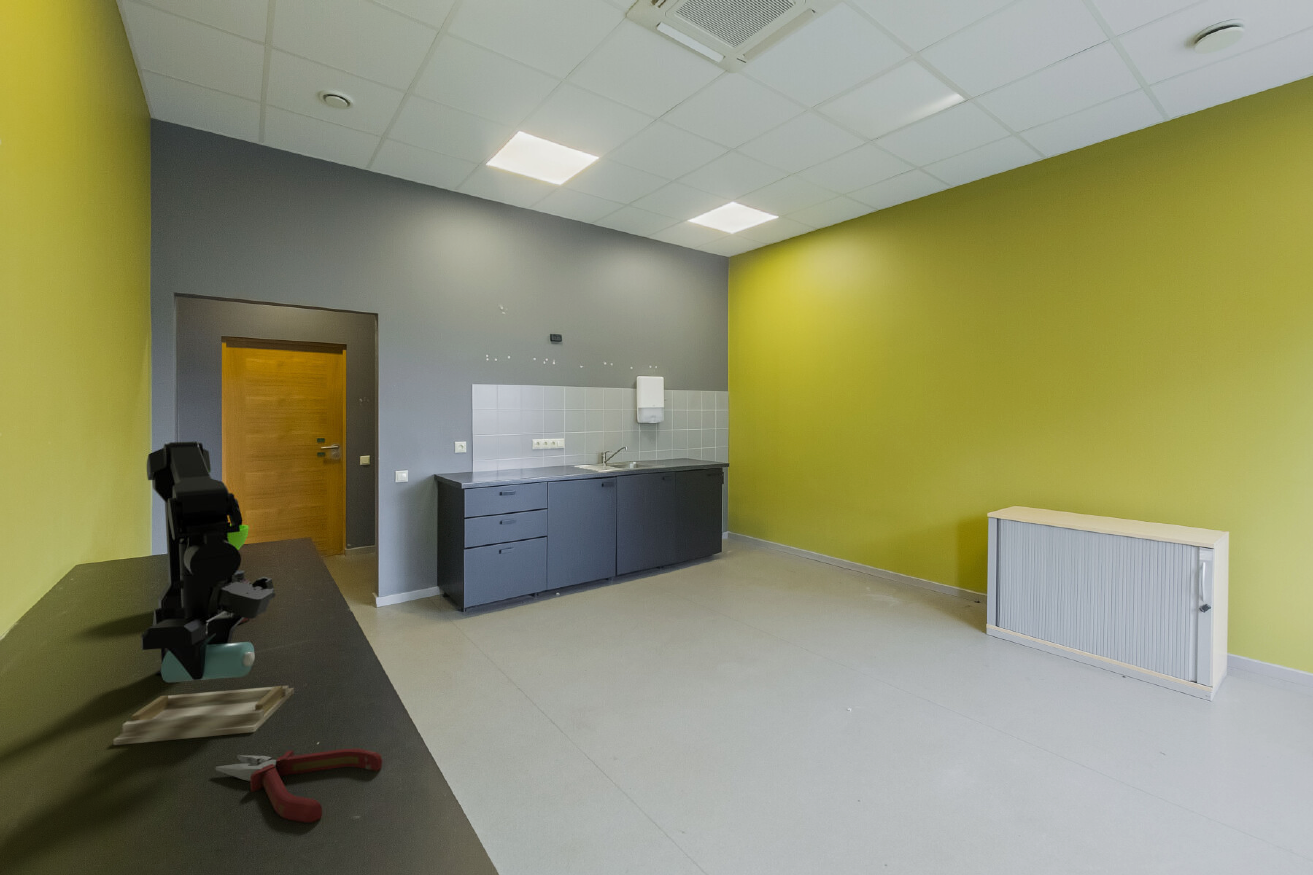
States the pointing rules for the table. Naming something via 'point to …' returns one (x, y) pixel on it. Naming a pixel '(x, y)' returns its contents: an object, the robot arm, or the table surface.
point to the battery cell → (213, 663)
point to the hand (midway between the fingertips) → (209, 671)
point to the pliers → (269, 771)
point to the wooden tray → (203, 714)
